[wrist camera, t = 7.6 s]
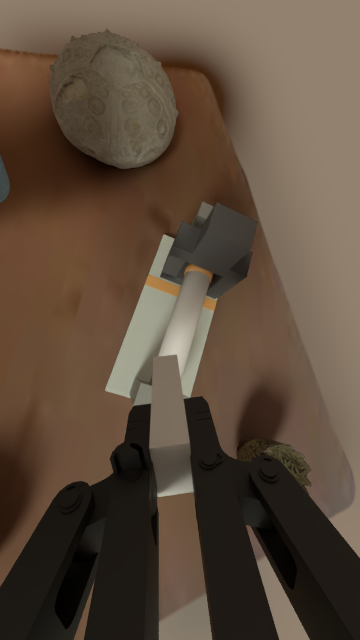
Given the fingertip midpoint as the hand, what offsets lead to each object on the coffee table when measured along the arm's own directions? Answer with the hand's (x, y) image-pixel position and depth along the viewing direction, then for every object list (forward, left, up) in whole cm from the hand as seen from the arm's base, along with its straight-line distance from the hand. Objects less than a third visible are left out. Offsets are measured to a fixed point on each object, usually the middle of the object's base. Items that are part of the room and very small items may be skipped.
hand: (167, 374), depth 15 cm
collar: (-6, +12, -13) cm, 18 cm away
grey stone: (-33, +19, -18) cm, 42 cm away
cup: (+19, +5, -18) cm, 26 cm away
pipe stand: (-3, +8, -18) cm, 20 cm away
